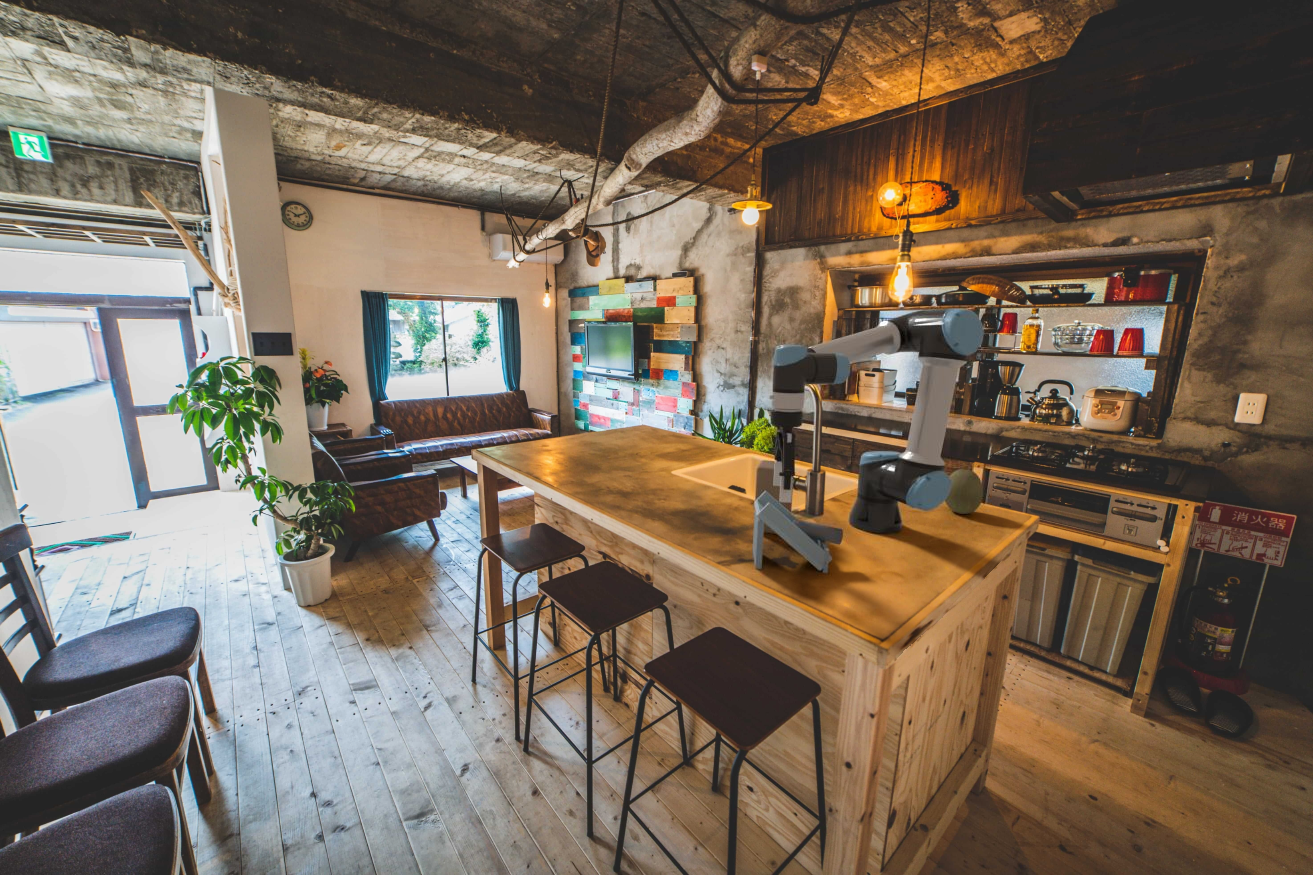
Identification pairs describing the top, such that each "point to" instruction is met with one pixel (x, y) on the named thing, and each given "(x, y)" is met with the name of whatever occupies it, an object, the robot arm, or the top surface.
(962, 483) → the fruit
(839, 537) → the peg
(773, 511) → the chute
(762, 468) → the wooden block
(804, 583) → the top surface
